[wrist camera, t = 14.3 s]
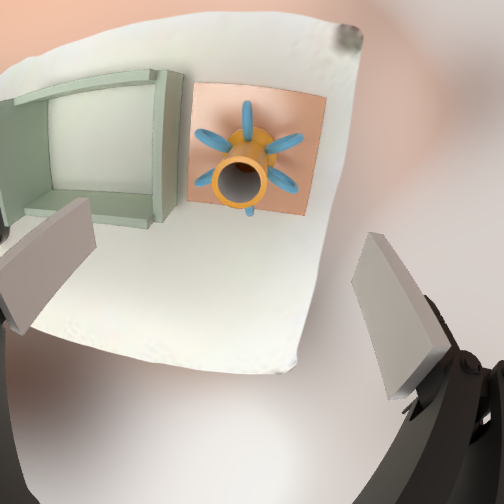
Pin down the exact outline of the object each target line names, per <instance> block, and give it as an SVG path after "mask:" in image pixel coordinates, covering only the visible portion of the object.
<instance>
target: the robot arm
mask: <svg viewBox="0 0 504 504" xmlns="http://www.w3.org/2000/svg"><path fill="white" fill-rule="evenodd" d="M8 234H9V227H7V226H5V225H4V221H3V217H2V212H1V208H0V245H1V244H2V243H3V242H4V241H5V240H6V239H7V237H8ZM95 248H96V241H95V236H94V230H93V223H92V217H91V209H90V201H89V198H80V197H78V198H76V199H75V200H73V201H72V202H70V203H69V204H67V205H66V206H64V207H63V208H61V209H60V210H59V211H57V212H56V213H54V214H53V215H52V216H50V217H49V218H48V219H46V220H45V221H44V222H42V223H41V224H40V225H38V226H37V227H36V228H35V229H33V230H32V231H31V232H30V233H28V234H27V235H26V236H25V237H23V238H22V239H21V240H20V241H19V242H17V243H16V244H15V245H14V246H13V247H11V248H10V249H9V250H8V251H7V252H6V253H5V254H4V255H2V256H1V257H0V504H40V503H39V501H38V500H37V499H36V498H35V497H34V496H33V495H32V493H31V492H30V491H29V490H28V488H27V485H26V483H25V480H24V477H23V473H22V470H21V467H20V463H19V459H18V455H17V451H16V447H15V443H14V438H13V433H12V427H11V421H10V415H9V407H8V400H7V388H6V373H5V327H4V326H3V324H2V323H3V322H4V321H5V320H7V322H8V324H9V326H10V328H11V330H12V331H14V332H16V333H18V334H20V335H22V336H23V335H24V334H25V333H26V331H27V329H28V328H29V327H30V326H31V324H32V323H33V322H34V320H35V319H36V318H37V316H38V315H39V314H40V312H41V311H42V310H43V308H44V307H45V306H46V305H47V303H48V302H49V301H50V300H51V298H52V297H53V296H54V295H55V293H56V292H57V291H58V290H59V289H60V287H61V286H62V285H63V284H64V283H65V281H66V280H67V279H68V278H69V277H70V276H71V274H72V273H73V272H74V271H75V270H76V269H77V268H78V267H79V265H80V264H81V263H82V262H83V261H84V260H85V259H86V258H87V257H88V256H89V255H90V254H91V252H92V251H93V250H94V249H95ZM351 283H352V285H353V288H354V291H355V293H356V296H357V299H358V302H359V305H360V307H361V310H362V313H363V316H364V319H365V322H366V325H367V328H368V331H369V334H370V338H371V341H372V344H373V347H374V351H375V354H376V357H377V361H378V364H379V367H380V371H381V375H382V378H383V382H384V386H385V390H386V393H387V397H388V400H395V399H404V398H407V397H408V396H409V395H410V394H411V393H412V392H413V391H414V390H415V389H416V391H417V394H418V397H417V398H416V399H415V400H414V401H413V402H412V403H411V404H410V405H409V406H408V407H406V408H405V409H404V411H403V412H402V414H405V413H406V412H407V411H408V410H409V412H408V414H407V416H406V418H405V420H404V422H403V424H402V426H401V428H400V430H399V432H398V434H397V436H396V438H395V439H394V441H393V443H392V445H391V447H390V448H389V450H388V452H387V454H386V455H385V457H384V458H383V460H382V461H381V463H380V465H379V466H378V468H377V470H376V471H375V473H374V474H373V476H372V477H371V479H370V480H369V482H368V483H367V484H366V486H365V487H364V489H363V490H362V491H361V493H360V494H359V496H358V497H357V498H356V499H355V501H354V502H353V503H352V504H504V360H501V361H499V362H498V363H497V365H495V367H494V368H493V369H492V370H491V369H487V368H482V366H481V363H480V361H479V360H478V359H477V357H476V356H475V355H473V354H472V353H470V352H468V351H466V350H460V349H459V347H458V345H457V343H456V341H455V339H454V337H453V335H452V333H451V331H450V330H449V328H448V326H447V324H446V323H445V321H444V319H443V317H442V316H441V315H440V312H439V310H438V309H437V307H436V305H435V304H434V303H433V302H432V301H431V300H430V299H429V298H428V297H427V296H426V295H423V294H422V292H421V291H420V289H419V287H418V286H417V284H416V282H415V281H414V279H413V278H412V276H411V274H410V273H409V271H408V270H407V268H406V267H405V265H404V264H403V262H402V261H401V259H400V258H399V256H398V255H397V253H396V252H395V250H394V249H393V248H392V246H391V245H390V243H389V242H388V241H387V239H386V238H385V236H384V235H383V234H378V233H373V232H368V235H367V239H366V241H365V245H364V247H363V250H362V254H361V256H360V259H359V262H358V265H357V267H356V270H355V273H354V275H353V278H352V281H351ZM490 412H491V419H490V420H489V421H488V422H487V423H486V424H483V418H484V417H485V416H487V415H488V414H489V413H490Z"/></svg>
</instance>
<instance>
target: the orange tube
mask: <svg viewBox="0 0 504 504" xmlns="http://www.w3.org/2000/svg"><path fill="white" fill-rule="evenodd" d="M195 136H196V138H197V139H198V140H199V141H201V142H202V143H204V144H205V145H207V146H209V147H211V148H213V149H215V150H217V151H220V152H223V159H222V161H221V162H220V163H219V164H218V166H217V167H216V168H213V169H212V170H210V171H208V172H206V173H204V174H203V175H201V176H200V177H199V178H197V179H196V180H195V186H197V187H202V186H205V185H208V184H210V183H212V188H213V191H214V193H215V195H216V197H217V198H218V199H219V200H220V201H221V202H222V203H224V204H225V205H227V206H229V207H232V208H238V209H243V208H245V211H246V214H247V216H252V215H253V213H254V205H255V204H256V203H258V202H259V201H260V200H261V199H262V197H263V196H264V194H265V192H266V189H267V178H268V179H269V180H270V181H271V182H272V183H273V184H275V185H276V186H278V187H279V188H281V189H283V190H284V191H286V192H289V193H292V194H296V193H298V191H299V187H298V185H297V184H296V183H295V182H294V181H293V180H292V179H291V178H290V177H288V176H287V175H286V174H284V173H283V172H281V171H279V170H277V169H275V168H274V166H275V163H276V160H277V153H278V152H281V151H284V150H287V149H289V148H291V147H294V146H296V145H297V144H299V143H301V142H302V141H303V140H304V135H303V134H302V133H295V134H291V135H288V136H285V137H283V138H280V139H278V140H276V141H274V139H273V137H272V136H271V135H270V134H269V133H268V132H267V131H266V130H264V129H262V128H260V127H256V126H253V112H252V104H251V102H250V101H248V100H247V101H244V103H243V106H242V128H241V129H239V130H237V131H236V132H235V133H234V134H232V135H231V136H230V137H229V138H228V140H226V139H225V138H223V137H221V136H220V135H218V134H216V133H214V132H211V131H209V130H206V129H197V130H196V131H195Z"/></svg>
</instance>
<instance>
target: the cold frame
mask: <svg viewBox="0 0 504 504" xmlns="http://www.w3.org/2000/svg"><path fill="white" fill-rule="evenodd" d="M183 78H184V74H180V73H177V72H173V71H169V70H158V71H157V70H152V69H144V70H134V71H125V72H118V73H111V74H105V75H99V76H93V77H88V78H83V79H79V80H74V81H70V82H66V83H62V84H58V85H54V86H51V87H47V88H44V89H40V90H37V91H34V92H31V93H28V94H25V95H22V96H19V97H17V98H14V99H9V100H4V101H0V208H1V212H2V217H3V221H4V225H5V226H7V227H9V226H10V225H12V224H13V223H14V222H16V221H17V220H19V219H20V218H21V217H23V216H24V215H29V216H38V217H48V218H49V217H50V216H52V215H53V214H54V213H56V212H57V211H59V210H60V209H61V208H63V207H64V206H66V205H67V204H69V203H70V202H72V201H73V200H75V199H76V198H78V197H80V198H89V201H90V209H91V217H92V223H101V224H110V225H118V226H127V227H135V228H143V229H148V228H149V227H150V225H151V224H152V223H153V222H159V223H163V221H164V220H165V219H166V218H167V216H168V215H169V214H170V213H171V212H172V210H173V209H174V208H175V207H176V205H177V165H178V141H179V124H180V110H181V98H182V87H183ZM145 84H156V88H155V101H154V117H153V143H152V194H153V195H145V194H132V193H118V192H101V191H81V190H53V188H52V180H51V171H50V160H49V145H48V99H53V98H57V97H61V96H66V95H71V94H76V93H81V92H86V91H92V90H99V89H106V88H114V87H122V86H132V85H145Z"/></svg>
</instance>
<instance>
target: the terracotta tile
mask: <svg viewBox="0 0 504 504" xmlns="http://www.w3.org/2000/svg"><path fill="white" fill-rule="evenodd" d="M247 100H248V101H250V102H251V104H252V112H253V126H256V127H260V128H262V129H264V130H266V131H267V132H268V133H269V134H270V135H271V136H272V137H273V139H274V141H276V140H278V139H280V138H283V137H285V136H288V135H291V134H295V133H302V134H303V135H304V140H303V141H302V142H301V143H299V144H297V145H296V146H294V147H291V148H289V149H287V150H284V151H281V152H278V153H277V160H276V163H275V166H274V168H275V169H277V170H279V171H281V172H283V173H284V174H286V175H287V176H288V177H290V178H291V179H292V180H293V181H294V182H295V183H296V184H297V185H298V187H299V191H298V193H296V194H292V193H289V192H286V191H284V190H283V189H281V188H279V187H278V186H276V185H275V184H273V183H272V182H271V181H270V180H269V179H268V178H267V189H266V192H265V194H264V196H263V197H262V199H261V200H260V201H259V202H258V203H256V204H255V205H254V209H260V210H267V211H275V212H282V213H289V214H295V215H302V216H305V212H306V207H307V202H308V197H309V192H310V187H311V182H312V177H313V172H314V167H315V162H316V156H317V151H318V145H319V140H320V134H321V128H322V122H323V116H324V110H325V104H326V98H325V97H321V96H316V95H311V94H305V93H300V92H294V91H288V90H281V89H274V88H267V87H258V86H248V85H237V84H221V83H194V92H193V102H192V114H191V127H190V142H189V160H188V184H187V201H193V202H202V203H211V204H220V205H225V204H224V203H222V202H221V201H220V200H219V199H218V198H217V197H216V195H215V193H214V191H213V188H212V183H210V184H208V185H205V186H202V187H197V186H195V180H196V179H197V178H199V177H200V176H201V175H203V174H204V173H206V172H208V171H210V170H212V169H213V168H216V167H217V166H218V164H219V163H220V162H221V161H222V159H223V152H220V151H217V150H215V149H213V148H211V147H209V146H207V145H205V144H204V143H202V142H201V141H199V140H198V139H197V138H196V136H195V131H196V130H197V129H206V130H209V131H211V132H214V133H216V134H218V135H220V136H221V137H223V138H225V139H226V140H228V138H229V137H230V136H231V135H232V134H234V133H235V132H236V131H237V130H239V129H241V128H242V106H243V103H244V101H247Z"/></svg>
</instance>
